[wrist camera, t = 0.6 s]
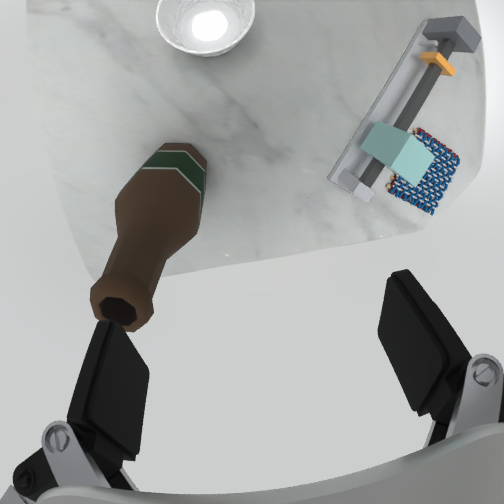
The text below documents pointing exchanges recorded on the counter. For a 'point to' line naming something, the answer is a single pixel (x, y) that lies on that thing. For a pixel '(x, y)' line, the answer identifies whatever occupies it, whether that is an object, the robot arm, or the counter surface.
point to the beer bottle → (150, 232)
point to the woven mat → (428, 176)
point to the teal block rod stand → (404, 96)
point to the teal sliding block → (398, 152)
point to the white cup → (204, 24)
